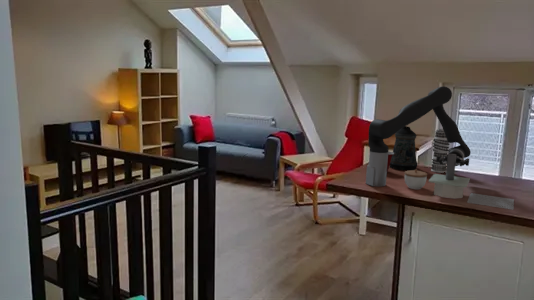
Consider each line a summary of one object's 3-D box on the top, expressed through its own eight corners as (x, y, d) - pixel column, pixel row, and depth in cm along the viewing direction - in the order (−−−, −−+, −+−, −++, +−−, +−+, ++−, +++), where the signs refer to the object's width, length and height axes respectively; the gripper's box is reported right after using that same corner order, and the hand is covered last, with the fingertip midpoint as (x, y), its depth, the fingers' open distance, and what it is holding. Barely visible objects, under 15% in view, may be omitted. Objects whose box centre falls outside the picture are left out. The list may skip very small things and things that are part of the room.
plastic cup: (394, 173, 243) (396, 153, 241) (375, 173, 243) (377, 152, 241) (389, 169, 253) (391, 149, 251) (371, 168, 254) (372, 149, 251)
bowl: (447, 200, 193) (449, 185, 192) (428, 192, 205) (429, 178, 203) (468, 197, 198) (470, 183, 197) (448, 190, 209) (449, 177, 208)
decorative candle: (429, 171, 250) (433, 129, 246) (431, 168, 258) (435, 127, 254) (445, 173, 246) (450, 130, 241) (447, 170, 254) (451, 129, 250)
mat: (513, 210, 180) (513, 209, 180) (466, 203, 189) (467, 202, 189) (513, 200, 196) (513, 199, 196) (470, 194, 205) (470, 193, 204)
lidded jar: (427, 191, 208) (429, 172, 206) (404, 189, 209) (406, 171, 208) (423, 185, 218) (425, 167, 216) (402, 184, 220) (403, 166, 218)
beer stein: (401, 171, 248) (404, 129, 244) (380, 164, 266) (383, 125, 261) (423, 169, 255) (427, 128, 250) (401, 163, 272) (404, 124, 268)
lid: (466, 187, 189) (469, 159, 187) (428, 182, 197) (431, 155, 195) (469, 180, 203) (472, 153, 201) (434, 175, 211) (436, 149, 209)
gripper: (440, 148, 213) (435, 153, 200) (471, 151, 206) (468, 156, 193) (439, 163, 215) (433, 168, 201) (470, 166, 208) (466, 173, 194)
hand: (450, 163), depth 197 cm, fingers open, 8 cm apart
